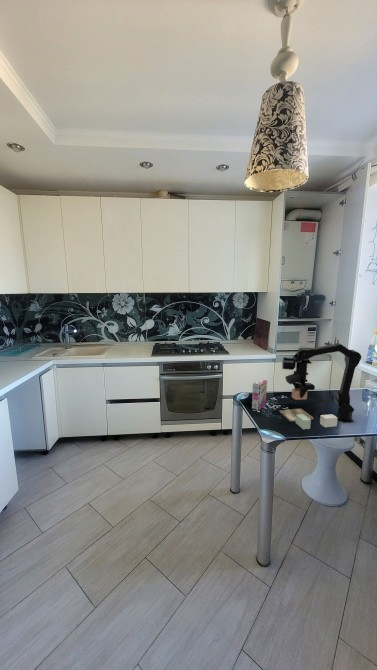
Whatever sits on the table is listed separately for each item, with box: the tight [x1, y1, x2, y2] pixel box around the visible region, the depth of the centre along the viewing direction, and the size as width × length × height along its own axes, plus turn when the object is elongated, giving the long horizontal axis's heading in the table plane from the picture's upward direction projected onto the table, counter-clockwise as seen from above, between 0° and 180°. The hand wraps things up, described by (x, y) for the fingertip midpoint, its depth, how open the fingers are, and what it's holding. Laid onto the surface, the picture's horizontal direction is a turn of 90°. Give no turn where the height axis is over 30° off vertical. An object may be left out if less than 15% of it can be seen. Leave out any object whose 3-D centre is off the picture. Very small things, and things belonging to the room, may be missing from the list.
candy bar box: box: [251, 379, 268, 411], centre depth 161 cm, size 11×5×16 cm, turn 141°
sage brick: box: [295, 414, 312, 430], centre depth 138 cm, size 7×4×5 cm, turn 8°
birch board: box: [279, 408, 314, 422], centre depth 150 cm, size 14×12×1 cm
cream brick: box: [319, 413, 338, 428], centre depth 139 cm, size 7×4×5 cm, turn 99°
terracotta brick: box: [291, 388, 308, 401], centre depth 149 cm, size 7×4×5 cm, turn 98°
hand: (299, 396), depth 149 cm, fingers closed on terracotta brick, 4 cm apart
